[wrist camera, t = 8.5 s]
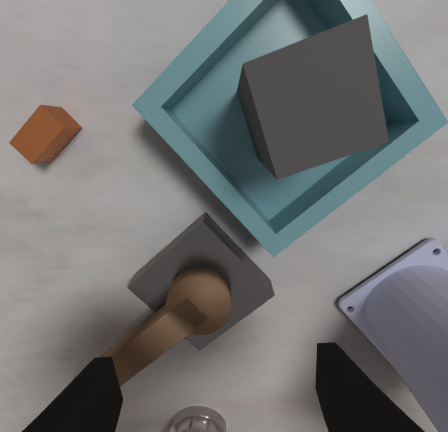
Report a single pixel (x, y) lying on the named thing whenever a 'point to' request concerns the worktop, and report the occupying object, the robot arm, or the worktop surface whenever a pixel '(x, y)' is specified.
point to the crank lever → (175, 320)
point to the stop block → (314, 100)
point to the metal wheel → (198, 420)
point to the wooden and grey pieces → (174, 252)
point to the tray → (237, 127)
